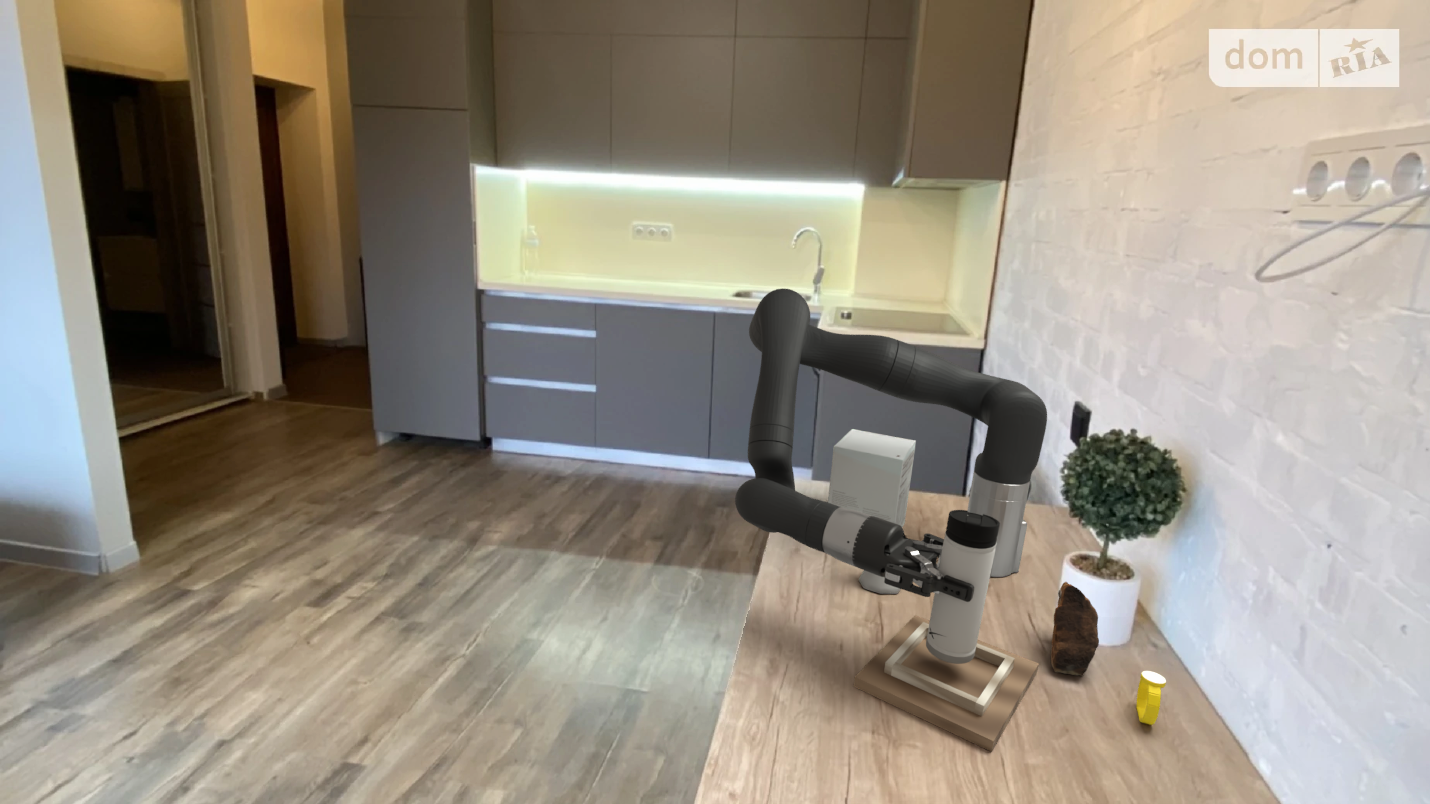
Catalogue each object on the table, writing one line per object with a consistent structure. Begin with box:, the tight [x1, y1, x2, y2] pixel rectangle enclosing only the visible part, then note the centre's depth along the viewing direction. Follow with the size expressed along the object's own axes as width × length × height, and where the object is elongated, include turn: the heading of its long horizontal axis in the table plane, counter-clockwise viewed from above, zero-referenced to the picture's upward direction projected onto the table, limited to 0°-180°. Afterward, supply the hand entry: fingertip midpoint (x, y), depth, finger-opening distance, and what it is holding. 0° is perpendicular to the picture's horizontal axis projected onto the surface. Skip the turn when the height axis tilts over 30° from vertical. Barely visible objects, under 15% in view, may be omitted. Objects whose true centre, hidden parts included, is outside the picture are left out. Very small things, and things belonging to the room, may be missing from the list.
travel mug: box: [926, 509, 1000, 664], centre depth 96 cm, size 6×7×20 cm
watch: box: [1135, 670, 1167, 726], centre depth 95 cm, size 6×3×6 cm, turn 158°
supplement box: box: [827, 428, 917, 528], centre depth 144 cm, size 13×13×18 cm
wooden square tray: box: [853, 614, 1040, 753], centre depth 100 cm, size 20×18×3 cm
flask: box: [858, 570, 901, 595], centre depth 123 cm, size 7×7×10 cm
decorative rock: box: [1050, 581, 1100, 677], centre depth 106 cm, size 12×6×11 cm, turn 154°
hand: (981, 583), depth 95 cm, fingers closed on travel mug, 6 cm apart
